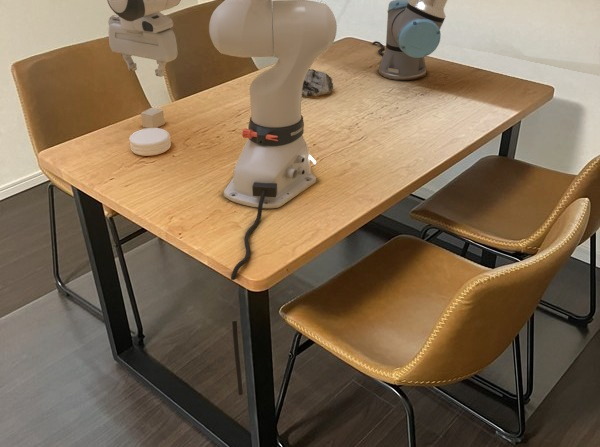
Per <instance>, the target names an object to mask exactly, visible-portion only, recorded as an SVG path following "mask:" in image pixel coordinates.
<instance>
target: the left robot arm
mask: <svg viewBox="0 0 600 447" xmlns="http://www.w3.org/2000/svg"><path fill="white" fill-rule="evenodd" d="M180 2H181V0H107V4H108V6H109V8H110V10H112V12H113V13H114V14H113V15H111V16H110V17H109V18H108V19H107V20H108V21H107V22H108V44H109V49H110V50H111V51H112V52H113V53H116V54H121V56H122V59H123V60H124V62H125V63H126V66H127V70H128V71H130V72H135V71H137V70H138V67H137V62H134V60H133V58H132V57H138V58H143V59H148V60H154V61H156V64H157V65H158V66H157V68H156V69H154V71H155V76H156V77H159V78H163V77H164V76H165V68H166V66H167V63H170V62H172V61H174V60H176V59H177V57H178V54H179V53H178V44H177V38H176V35H175V31H174V30H173V29H171V28H173V27H174V22H173V21H174V20H173V19H172V18H170V17H169V16H167V15H165V14H164V13H162V12H163V11H167V10H170V9H172V8H174V7H176V6H178V5H179V4H180ZM337 26H338V25H337V19H336V17H335V14H334V12H333V10H332V9H331V8H330V6H329V5H328V4H327V3H324V2H319V1H313V0H223V1H222V2H220V4H219V5H218V6H217V7H216V8H215V9H214V10H213V12H212V14H211V16H210V19H209V24H208V33H209V37H210V40H211V43H212V45H213V46H214V47H215V49H216V50H217V51H218V52H219V53H220V54H221V55H226V56H231V57H238V58H273V57H274V58H277V61H276V63H275V64H274V65H273V66H272V67H270V68H268V69H267V70H265V71H263V72H261V73H259V74H258V75H257V76H256V77H255V78H254V79H253V80H252V82H251V83H250V86H249V101H250V102H249V103H250V117H249V123H248V126H247V128H245V127H244V128H243V129H242V131H241V137H242V138H244V139H247V140H246V142H245V144H244V146H243V148H242V151H241V153H240V154H239V157H238V159H237V161H236V163H235V166H234V167H233V168H234V169H233V177H232V178H231V180H230V181H229V183H228V184H227V186H226V187H225V188H224V190H223V196H224V198H225V199H228V200H229V201H231V202H233V203H237V204H239V205H244V206H248V207H252V208H257V214H256V218H255V220H254V222H253V223H252V225H251V226H250V227H249V228H248V229H247V231H246V232H245V234H244V238H243V239H244V240H243V241H244V247H245V255H244V258H243V259H241V260H240V261H239V262H237V264H236V265H235V266H234V268H233V270H232V272H231V276H230V280H231V281H234V280H236V279H237V275H238V272H239V270H240V269H241V267H243V266H244V265H246V263H248V261H249V260H250V258H251V245H250V236H251V234H252V233H253V231H255V229H256V228H257V227H258V225H259V224H260V222H261V218H262V214H263V209H278V208H280V207H283V205H285V204H286V203H288V202H289V201H292V199H294V198H295V197H296V196H298V195H299V194H301V193H303V192H304V191H305V190H307V189H308V188H309V187H311V186H313V185H314V184H316V182H317V176H316V175H315V174H314V173H312V167H311V162H312V163H313V165H317V161H316V159H314V157H313V156H312V155H311V154H310V147H309V145H308V144H307V142H306V140H305V138H304V133H305V132H304V131H305V130H304V127H305V121H304V116H303V115H302V98H303V96H302V87H303V82H304V79H305V76H306V74H307V72H308V70H309V69H311V68H312V66H313V64H314V63H315V62H316V61H317V60H318V59H319V58H320V57H321V56H322V55H323V54H325V53H327V51H328V50H329V49H330V48H331V47H332V46H333V44H334V42H335V39H336V36H337V29H338V28H337ZM231 323H232V324H231V326H232V340H233V350H234V352H233V353H234V361H235V370H236V380H237V381H236V382H237V392H238V395H239V396H242V395H244V393H243V392H244V391H243V390H244V389H243V380H242V368H241V359H240V358H241V357H240V348H239V336H238V335H239V333H238V321H237V320H234V321H233V320H232V321H231Z"/></svg>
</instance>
